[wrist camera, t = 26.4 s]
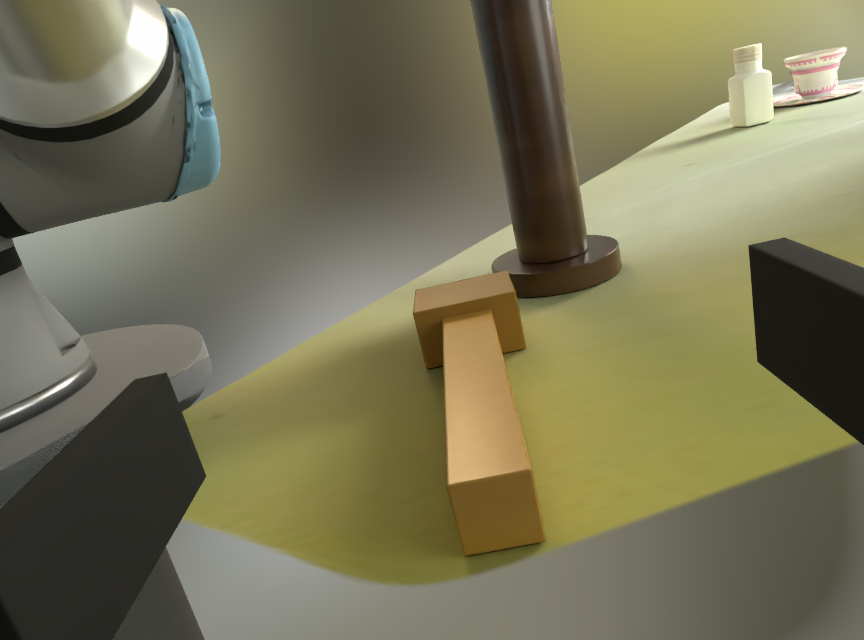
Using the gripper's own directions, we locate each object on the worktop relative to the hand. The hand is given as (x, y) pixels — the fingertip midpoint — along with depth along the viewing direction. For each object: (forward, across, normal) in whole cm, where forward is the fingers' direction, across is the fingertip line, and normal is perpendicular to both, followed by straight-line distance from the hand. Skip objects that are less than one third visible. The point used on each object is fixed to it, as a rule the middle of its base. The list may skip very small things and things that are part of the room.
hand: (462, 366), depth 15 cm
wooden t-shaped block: (+12, 0, -7) cm, 14 cm away
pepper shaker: (+76, +41, -7) cm, 86 cm away
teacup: (+87, +55, -7) cm, 103 cm away
